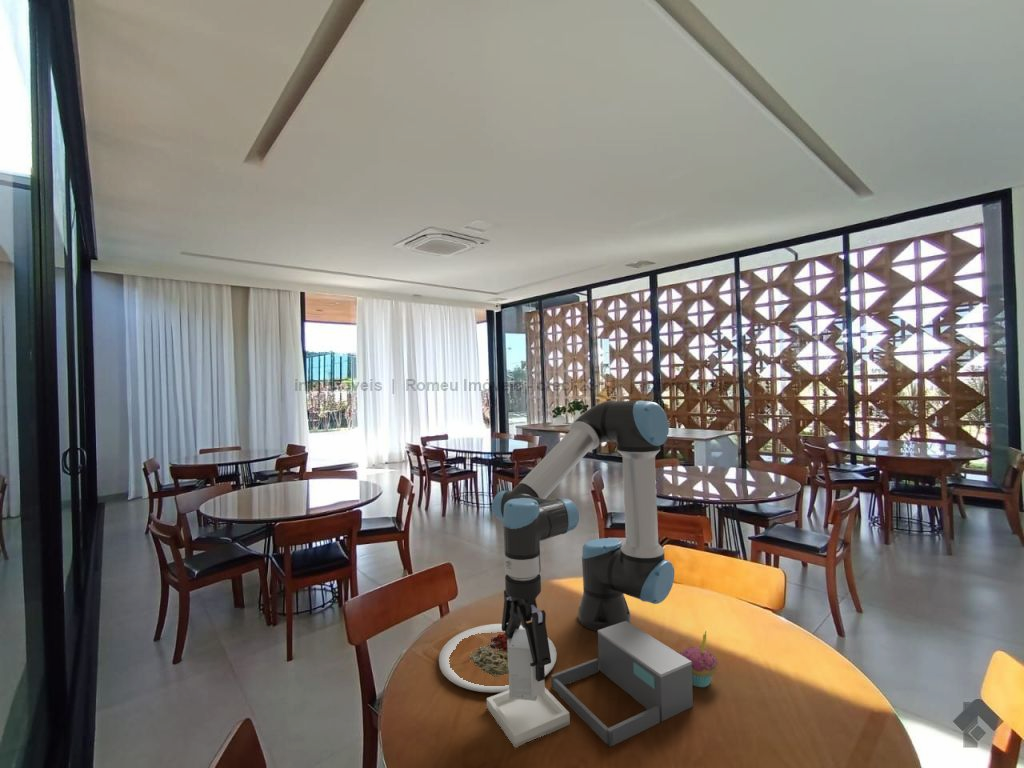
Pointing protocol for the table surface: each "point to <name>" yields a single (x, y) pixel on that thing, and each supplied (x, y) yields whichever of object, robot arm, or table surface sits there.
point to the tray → (527, 716)
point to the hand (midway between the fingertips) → (525, 680)
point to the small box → (520, 666)
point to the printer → (633, 680)
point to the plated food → (485, 658)
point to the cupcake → (701, 664)
